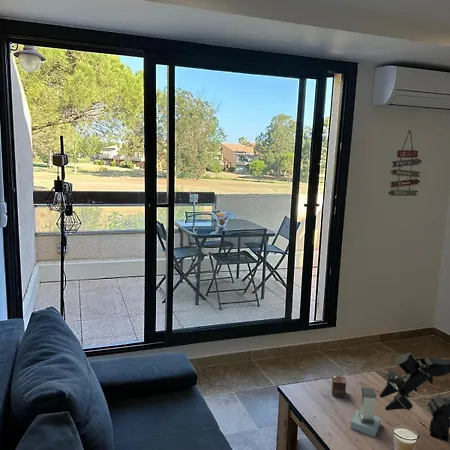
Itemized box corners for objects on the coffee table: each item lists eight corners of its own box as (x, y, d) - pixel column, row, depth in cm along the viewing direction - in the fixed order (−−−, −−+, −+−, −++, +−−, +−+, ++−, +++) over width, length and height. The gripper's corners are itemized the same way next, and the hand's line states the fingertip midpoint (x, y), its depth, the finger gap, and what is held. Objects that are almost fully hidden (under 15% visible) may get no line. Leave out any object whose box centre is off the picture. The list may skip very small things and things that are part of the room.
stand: (380, 424, 174) (380, 417, 174) (375, 437, 166) (375, 430, 165) (356, 415, 180) (357, 409, 179) (350, 428, 171) (350, 421, 171)
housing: (371, 416, 174) (373, 388, 172) (373, 424, 169) (376, 395, 167) (359, 415, 175) (361, 387, 173) (361, 422, 170) (363, 393, 168)
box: (345, 398, 193) (346, 383, 192) (332, 396, 194) (333, 381, 193) (344, 391, 199) (345, 377, 198) (331, 389, 200) (332, 375, 199)
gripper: (393, 355, 176) (365, 377, 179) (406, 378, 158) (374, 401, 161) (411, 374, 176) (382, 395, 179) (426, 399, 158) (393, 422, 161)
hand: (382, 402), depth 170 cm, fingers open, 9 cm apart
